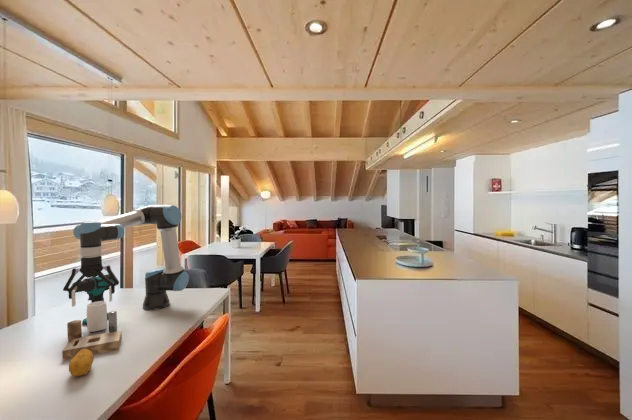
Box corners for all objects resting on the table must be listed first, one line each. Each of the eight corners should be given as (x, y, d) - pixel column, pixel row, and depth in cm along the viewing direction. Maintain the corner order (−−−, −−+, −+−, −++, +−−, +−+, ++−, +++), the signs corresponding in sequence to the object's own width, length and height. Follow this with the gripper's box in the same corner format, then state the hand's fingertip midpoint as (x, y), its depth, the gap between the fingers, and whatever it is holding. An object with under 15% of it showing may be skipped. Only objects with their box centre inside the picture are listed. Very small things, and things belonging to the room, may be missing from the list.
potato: (64, 384, 111) (63, 365, 111) (75, 365, 124) (74, 348, 124) (88, 379, 114) (87, 361, 114) (96, 361, 127) (96, 344, 127)
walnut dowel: (83, 339, 147) (82, 319, 147) (80, 344, 143) (80, 323, 143) (69, 342, 145) (68, 321, 145) (66, 346, 140) (65, 325, 140)
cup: (111, 328, 160) (110, 301, 160) (95, 335, 152) (94, 307, 152) (99, 326, 163) (98, 300, 163) (83, 333, 155) (82, 305, 155)
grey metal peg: (117, 334, 153) (116, 310, 153) (116, 337, 150) (116, 312, 150) (109, 335, 152) (108, 311, 151) (108, 338, 149) (107, 314, 148)
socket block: (121, 338, 148) (121, 330, 148) (119, 349, 138) (118, 340, 138) (69, 348, 139) (69, 339, 139) (62, 360, 128) (62, 350, 128)
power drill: (77, 332, 156) (75, 283, 155) (62, 331, 157) (61, 283, 157) (119, 314, 181) (118, 272, 180) (106, 313, 183) (105, 271, 182)
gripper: (124, 252, 146) (126, 296, 147) (58, 257, 135) (59, 305, 135) (123, 254, 140) (124, 301, 140) (53, 260, 128) (54, 310, 129)
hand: (92, 303), depth 138 cm, fingers open, 13 cm apart
